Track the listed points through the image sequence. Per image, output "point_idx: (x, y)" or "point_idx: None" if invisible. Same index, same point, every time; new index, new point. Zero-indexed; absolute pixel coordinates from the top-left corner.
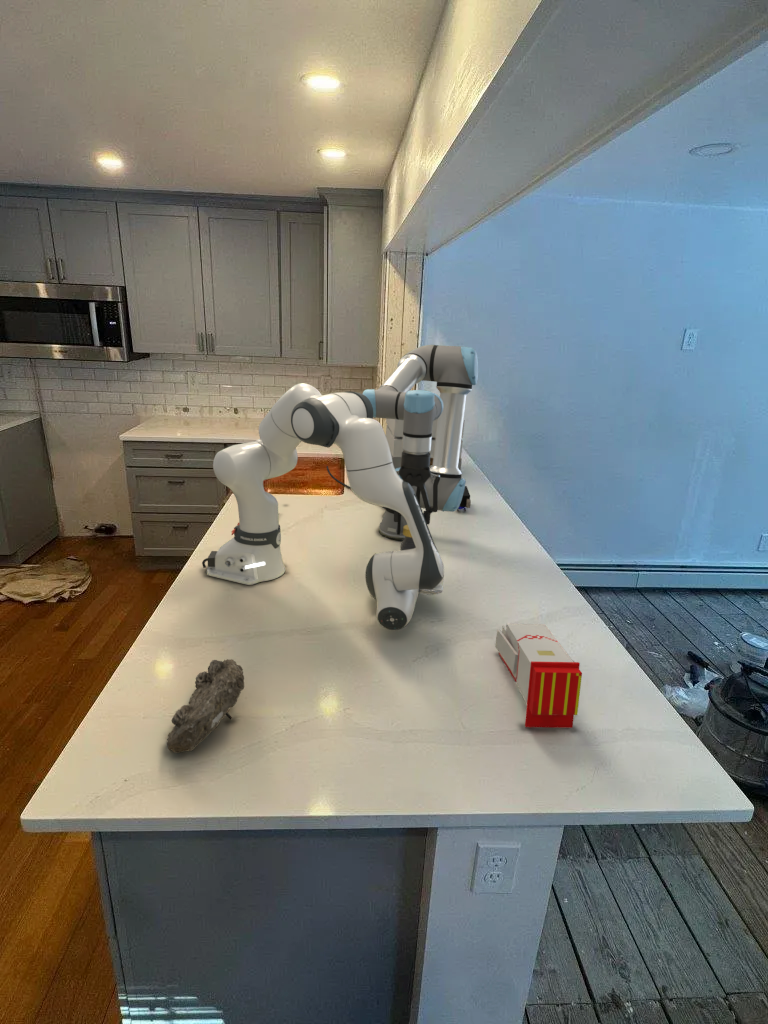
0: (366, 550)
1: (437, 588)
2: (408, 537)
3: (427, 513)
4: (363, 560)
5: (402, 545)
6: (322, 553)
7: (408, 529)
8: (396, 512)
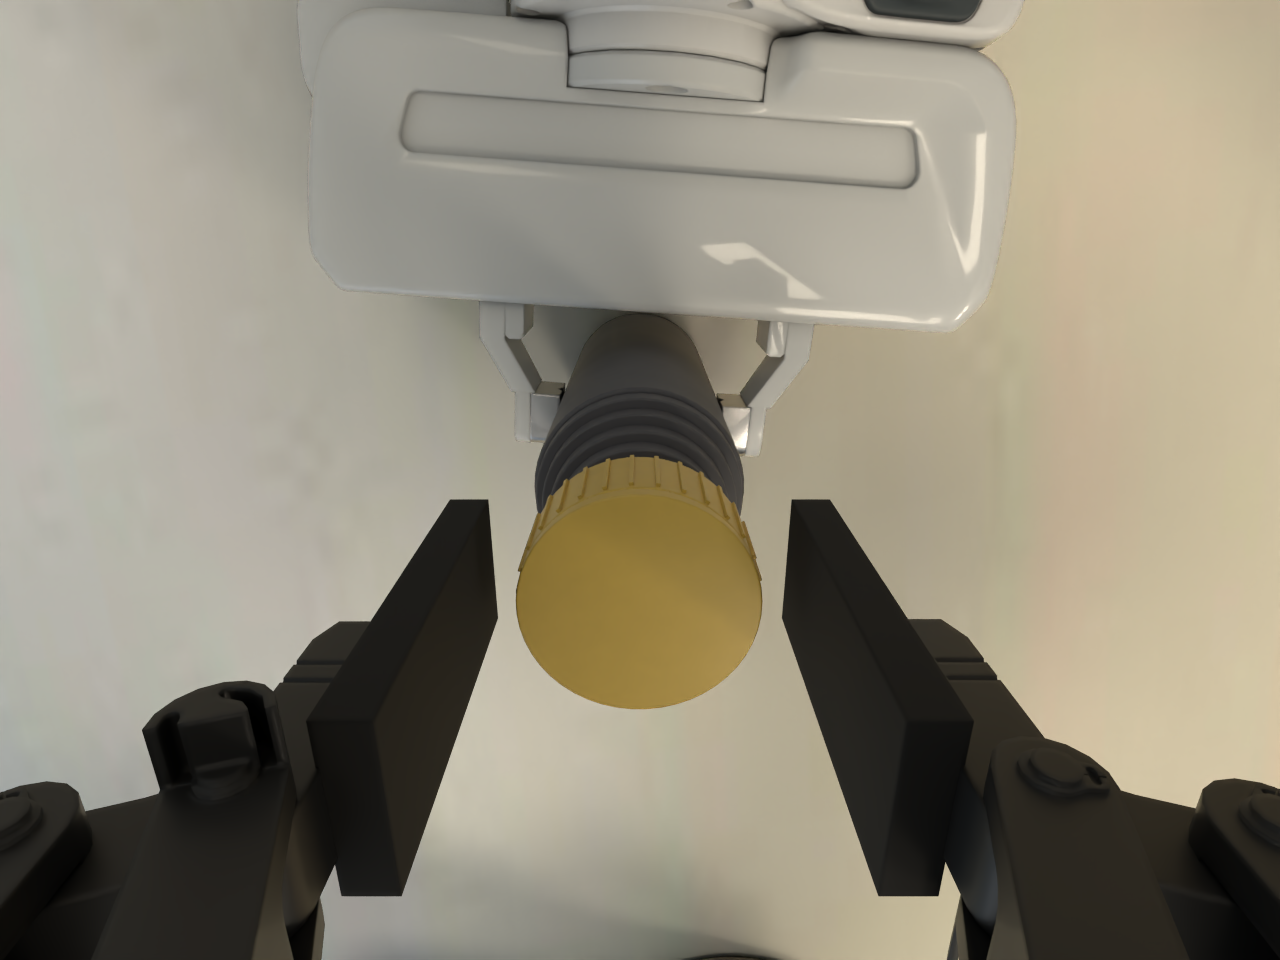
0: None
1: (341, 12)
2: None
3: (240, 702)
4: None
5: (726, 461)
6: (1188, 741)
7: (680, 522)
8: (992, 743)
